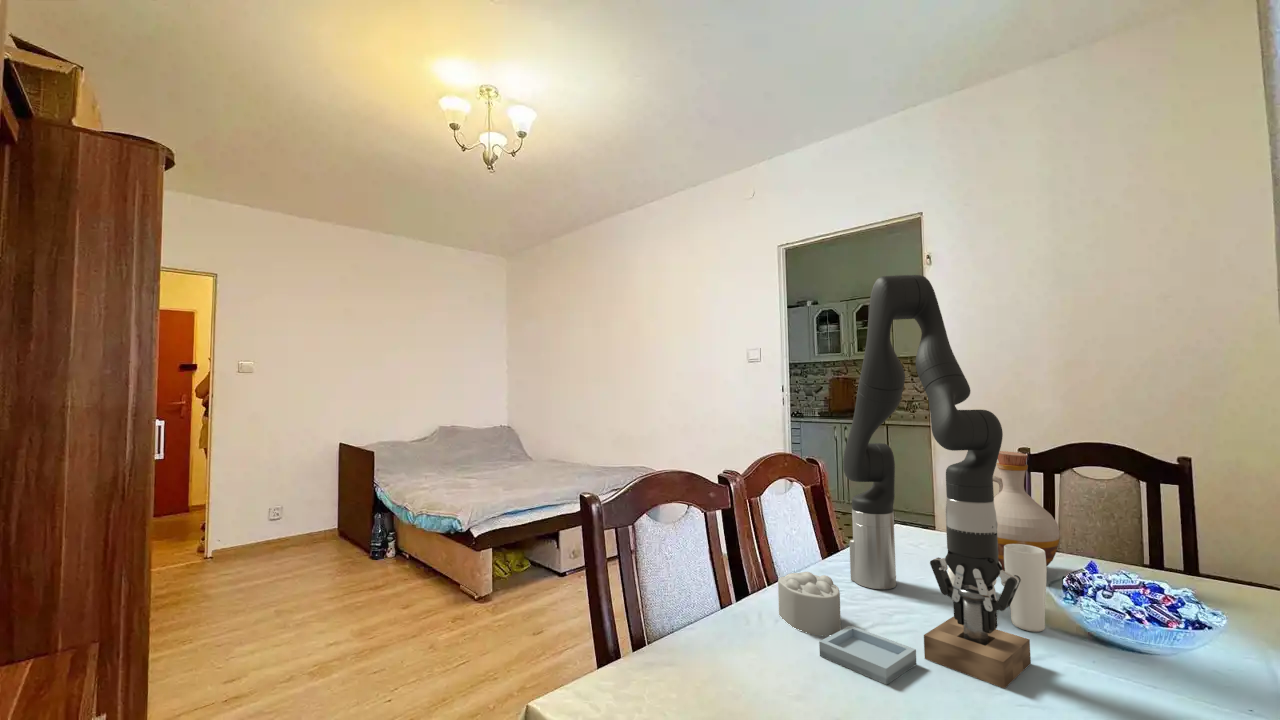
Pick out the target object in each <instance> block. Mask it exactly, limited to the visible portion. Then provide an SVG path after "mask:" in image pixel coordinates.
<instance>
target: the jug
mask: <svg viewBox="0 0 1280 720" xmlns="http://www.w3.org/2000/svg"><path fill="white" fill-rule="evenodd" d="M1028 456H1029V455H1028V454H1026V453H1023V452H1022V453H1021V452H1015V451H1007V450H1000V452H999V455H998V459H997V463H996V467H997V469H998V471H999V473H1000V477H998V476H997V475H993V483H997V484H998V485H999V487H998V488H999V490H998V493H996V495H994V506H995V510H996V518H997V523H998V528H997V538H998V560H999V562H1000V563H1001V566H1002V570H1003V571H1005V567H1004V546H1005V545H1007V544H1023V545H1030V546H1034V547H1038V548H1041V549H1043V550H1044V551H1045V555H1046V565H1047V567H1048V566H1049V565H1050V564H1051V563H1052V562H1053V560H1054V558H1055V556H1056V553H1057V552H1058V547H1059V544H1060V538H1061V537H1060V536H1061V535H1060V534H1061V531H1060V528H1059V525H1058V522H1057V521H1056V520H1055V518H1054V517H1053V515H1052V514H1051V513H1050V512H1049V511H1048V510H1046V509H1045V508H1044V507H1043V506H1042V505H1040V504H1039V503H1038V502H1037V501H1036V500H1035V499H1033V498H1032V497H1031V496H1030V495H1029V494H1028V493H1027V492H1026V490H1025V475H1026V471H1028V467H1029V465H1028V464H1026V462H1027V459H1028Z"/></svg>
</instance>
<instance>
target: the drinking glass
mask: <svg viewBox="0 0 1280 720" xmlns="http://www.w3.org/2000/svg"><path fill="white" fill-rule="evenodd" d="M1004 567H1005V572H1007V573H1009V574H1011V575H1012V576H1013V575H1017V576H1019V577H1020V579H1021V581H1020V583H1019V586H1018V588H1017V590H1016V593H1015V595H1014V598H1013V600H1012V602H1011V605H1010V606H1009V608H1010V620H1011V623H1012V624H1013V626H1014V627H1016V628H1018V629H1019V630H1023V631H1025V632H1026V631H1027V632H1033V633H1040V632H1043V631H1044V630H1045V629H1046V600H1047V599H1046V596H1047V579H1048V566H1047V565H1046V555H1045V551H1044V550H1043V549H1041V548H1038V547H1034V546H1030V545H1023V544H1007V545H1005V546H1004Z"/></svg>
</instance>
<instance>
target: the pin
mask: <svg viewBox="0 0 1280 720" xmlns="http://www.w3.org/2000/svg"><path fill="white" fill-rule="evenodd" d="M958 594H959V595H960V596H962V607H963V629H964V639H966V640H969V641H972V642H976V643H979V644H982V645H985V646H986V645H987V644H988V643H989V638H988V633H986V632H985V631H984V611H983V610H985V606H984V603H983V601H985V597H983V596H982V595H980V594H979V590H978V588H976V587H974V586H972V585H967V586H966V587H964V588H962V589H959V590H958Z"/></svg>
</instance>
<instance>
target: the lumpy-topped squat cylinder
mask: <svg viewBox="0 0 1280 720" xmlns="http://www.w3.org/2000/svg"><path fill="white" fill-rule="evenodd" d="M777 587H778V590H777V591H778V593H777V594H778V616H779V615H780V616H781V617H782V619H784V620H785V621H786V622H787V623H788V624H790V625H791V626H792V627H791V626H790V625H789V626H790V627H791V628H793V627H794V628H796V629H799V630H802V631H804V632H803V633H805V632H807V633H806V634H808V633H810V634H809V635H812V634H815V635H814V636H818V635H823V636H822V637H829V635H833V634H835V633H837V632H838V631H840V630H842V626H841V625H842V623H841V621H842V620H841V617H842V616H841V592H840V588H839V587H838V585H836V584H834V581H833V579H832V578H831V577H830V576H829V575H826V574H823V575H821V576H819V575H816V574H814V573H812V572H810V571H802V572H794V573H791V572H790V573H788V574H787V575H786V576H781V577H779V578H778V580H777ZM780 616H779V617H780ZM782 619H781V620H782ZM786 622H785V623H786ZM787 623H786V624H787ZM788 624H787V625H788ZM794 628H793V629H794ZM796 629H795V630H796ZM799 630H798V631H799ZM802 631H801V632H802Z"/></svg>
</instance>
